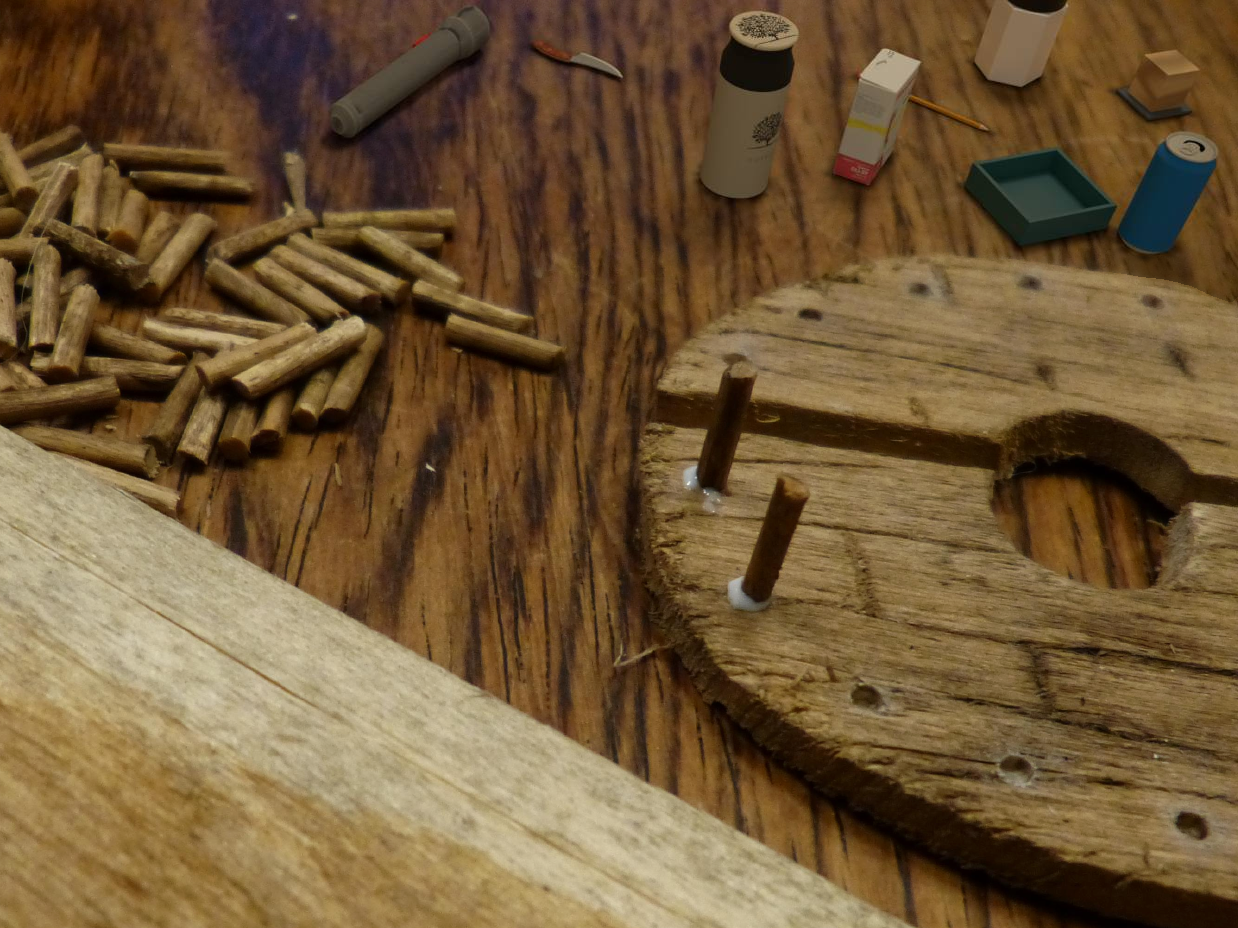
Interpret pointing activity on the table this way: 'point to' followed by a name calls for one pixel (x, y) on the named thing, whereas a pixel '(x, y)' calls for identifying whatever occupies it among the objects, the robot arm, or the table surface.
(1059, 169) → the tray
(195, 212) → the table surface
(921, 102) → the pencil
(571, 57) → the knife
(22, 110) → the table surface
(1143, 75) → the beech block
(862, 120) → the ink box
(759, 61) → the travel mug
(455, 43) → the flashlight
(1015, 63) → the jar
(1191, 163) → the beverage can
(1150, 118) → the mat
